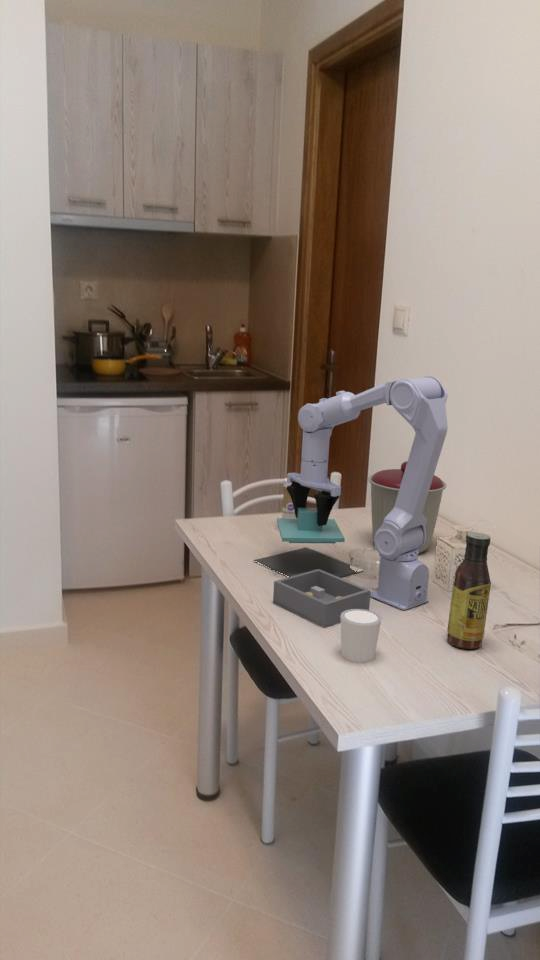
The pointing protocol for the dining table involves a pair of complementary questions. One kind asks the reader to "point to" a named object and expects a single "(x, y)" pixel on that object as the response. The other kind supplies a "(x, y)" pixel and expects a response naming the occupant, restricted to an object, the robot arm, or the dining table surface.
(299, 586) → the tub
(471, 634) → the sauce bottle
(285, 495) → the sprinkles bottle
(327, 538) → the lid
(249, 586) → the dining table surface
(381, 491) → the canister
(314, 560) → the mat
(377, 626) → the white cup
